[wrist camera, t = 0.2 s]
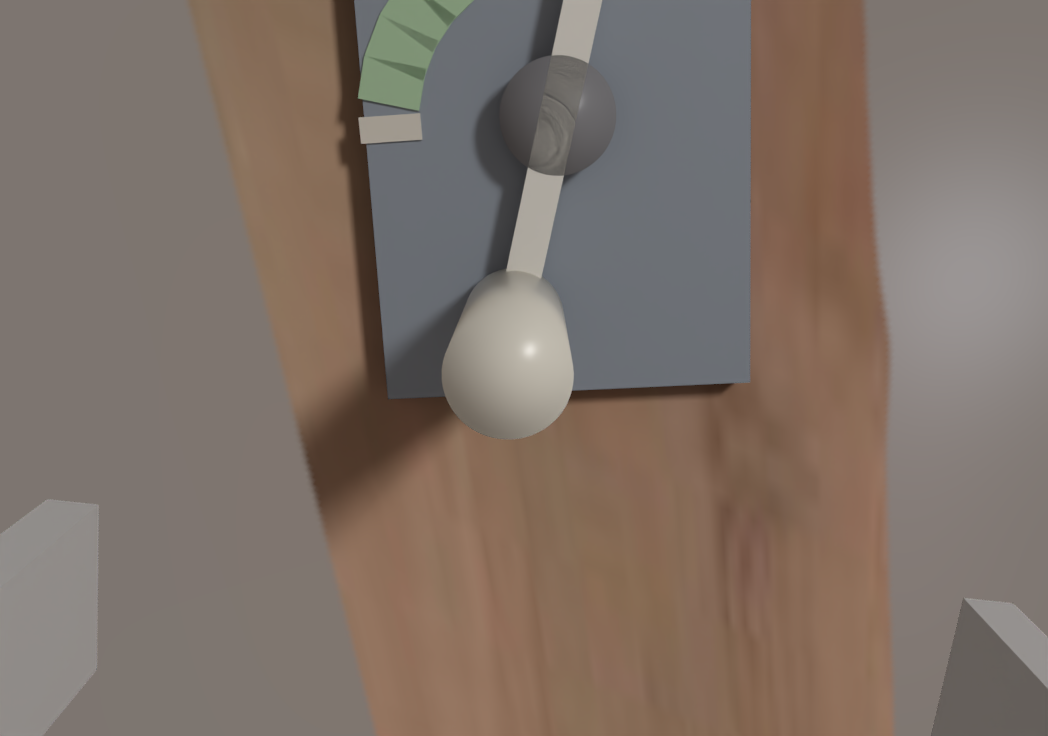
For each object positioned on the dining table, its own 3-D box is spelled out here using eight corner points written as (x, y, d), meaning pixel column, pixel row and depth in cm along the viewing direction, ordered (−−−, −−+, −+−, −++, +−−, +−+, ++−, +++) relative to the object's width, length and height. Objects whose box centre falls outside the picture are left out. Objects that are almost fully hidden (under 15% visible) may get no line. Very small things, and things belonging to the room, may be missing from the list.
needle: (550, -139, 35) (556, -245, 26) (667, -112, 36) (718, -207, 26) (451, 353, 40) (423, 423, 30) (556, 376, 40) (563, 452, 30)
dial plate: (339, -173, 37) (332, -184, 35) (744, -197, 36) (752, -209, 35) (387, 392, 42) (382, 400, 40) (743, 375, 41) (750, 383, 40)
